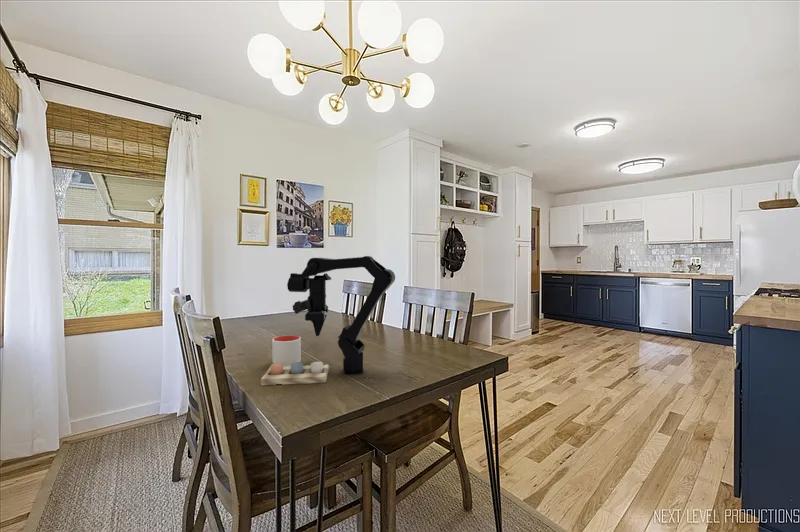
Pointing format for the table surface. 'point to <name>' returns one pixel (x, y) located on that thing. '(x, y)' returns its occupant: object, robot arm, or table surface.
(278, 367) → the button terracotta
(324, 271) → the robot arm
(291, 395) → the table surface
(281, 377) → the board
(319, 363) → the button cream
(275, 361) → the cup
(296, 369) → the button slate
